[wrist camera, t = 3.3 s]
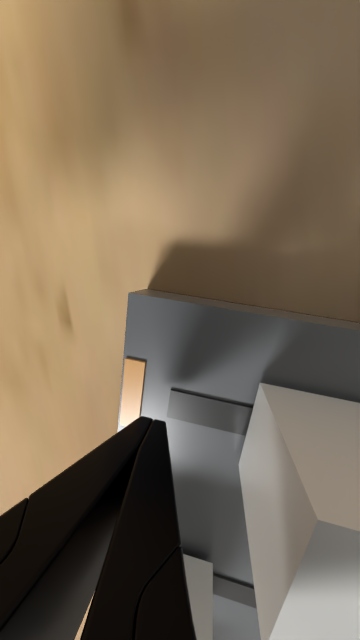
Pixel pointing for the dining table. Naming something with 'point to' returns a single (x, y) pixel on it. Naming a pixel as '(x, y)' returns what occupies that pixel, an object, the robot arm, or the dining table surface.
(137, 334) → the breaker panel
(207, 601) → the handle mid
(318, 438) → the handle
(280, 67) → the dining table surface
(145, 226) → the dining table surface
